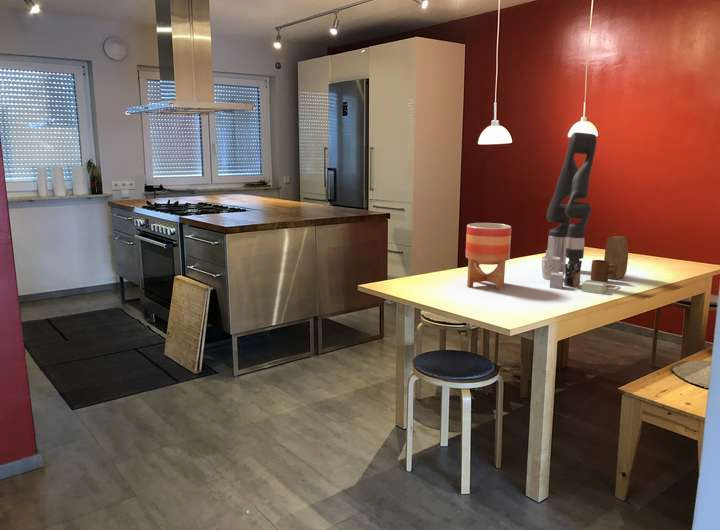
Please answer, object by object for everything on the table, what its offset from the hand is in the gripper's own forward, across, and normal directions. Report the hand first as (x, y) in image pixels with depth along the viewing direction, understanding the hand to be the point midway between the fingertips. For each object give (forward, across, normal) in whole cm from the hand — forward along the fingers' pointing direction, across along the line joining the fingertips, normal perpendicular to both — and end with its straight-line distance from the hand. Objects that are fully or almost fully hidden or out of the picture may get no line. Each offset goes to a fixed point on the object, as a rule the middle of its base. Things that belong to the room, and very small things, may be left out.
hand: (571, 284), depth 259 cm
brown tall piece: (+1, -31, +9) cm, 32 cm away
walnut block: (0, 0, 0) cm, 0 cm away
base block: (+1, +4, +11) cm, 12 cm away
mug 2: (+1, -18, +8) cm, 20 cm away
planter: (+1, +26, -29) cm, 39 cm away
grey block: (+1, +8, -4) cm, 9 cm away
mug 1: (+1, -8, -12) cm, 14 cm away
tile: (0, -7, +14) cm, 16 cm away
